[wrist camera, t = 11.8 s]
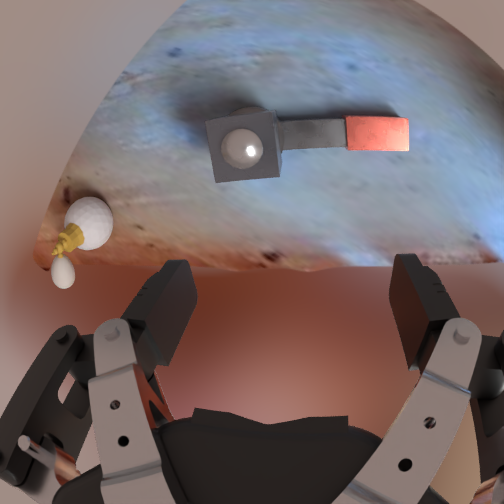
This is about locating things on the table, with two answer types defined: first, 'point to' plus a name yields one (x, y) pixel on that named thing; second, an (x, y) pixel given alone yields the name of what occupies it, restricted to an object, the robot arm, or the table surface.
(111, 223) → the perfume bottle
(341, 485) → the robot arm
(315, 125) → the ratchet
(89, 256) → the table surface
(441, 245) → the table surface
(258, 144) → the cube with chrome knob
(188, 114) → the table surface
